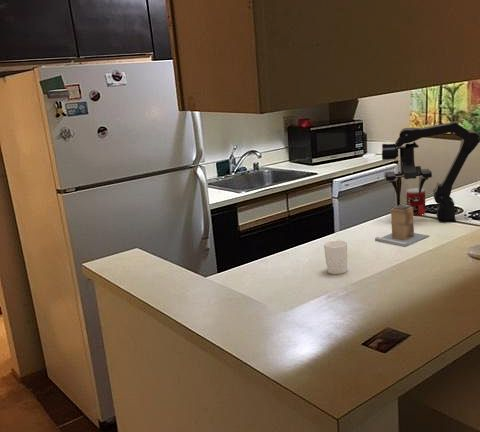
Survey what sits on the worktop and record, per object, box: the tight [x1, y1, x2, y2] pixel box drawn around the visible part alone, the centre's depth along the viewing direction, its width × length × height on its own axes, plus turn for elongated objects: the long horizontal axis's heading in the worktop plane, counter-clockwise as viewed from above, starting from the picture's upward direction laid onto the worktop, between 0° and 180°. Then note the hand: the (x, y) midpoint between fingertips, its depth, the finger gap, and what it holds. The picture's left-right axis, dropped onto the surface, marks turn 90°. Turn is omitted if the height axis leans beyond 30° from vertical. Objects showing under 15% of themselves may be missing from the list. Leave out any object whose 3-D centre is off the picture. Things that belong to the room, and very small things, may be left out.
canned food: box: [406, 187, 426, 217], centre depth 249 cm, size 8×8×11 cm
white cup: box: [323, 239, 348, 275], centre depth 191 cm, size 8×8×10 cm
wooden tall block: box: [390, 204, 415, 241], centre depth 217 cm, size 6×6×13 cm
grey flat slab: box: [374, 232, 430, 248], centre depth 218 cm, size 16×14×1 cm
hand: (408, 194), depth 237 cm, fingers open, 9 cm apart
